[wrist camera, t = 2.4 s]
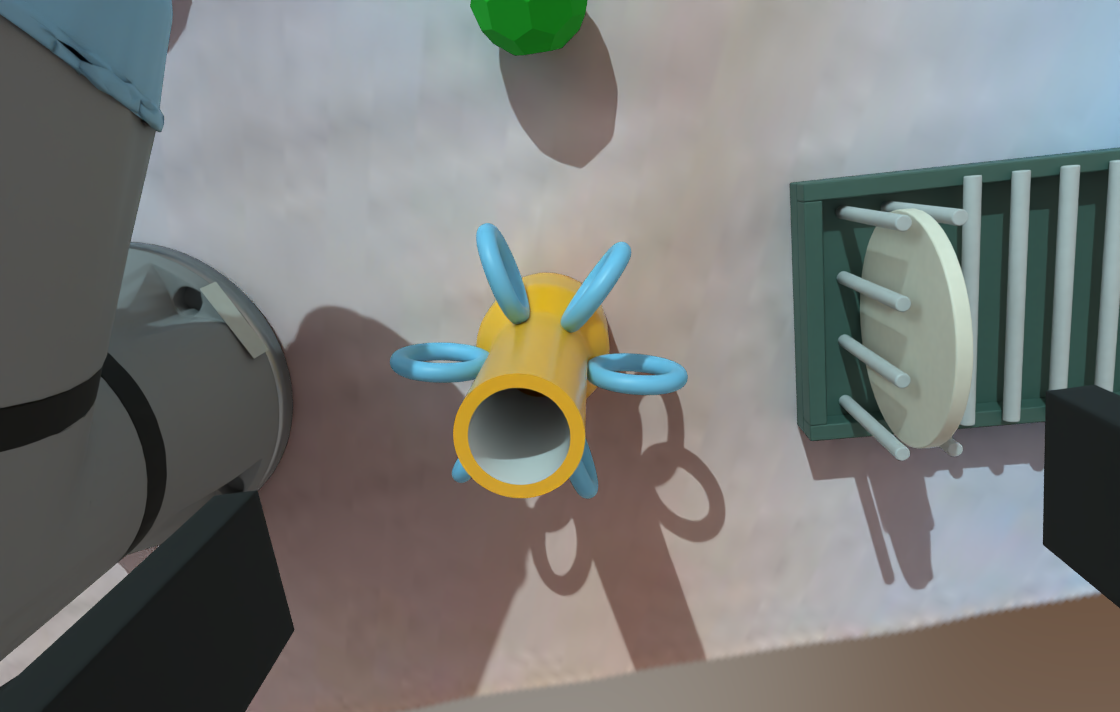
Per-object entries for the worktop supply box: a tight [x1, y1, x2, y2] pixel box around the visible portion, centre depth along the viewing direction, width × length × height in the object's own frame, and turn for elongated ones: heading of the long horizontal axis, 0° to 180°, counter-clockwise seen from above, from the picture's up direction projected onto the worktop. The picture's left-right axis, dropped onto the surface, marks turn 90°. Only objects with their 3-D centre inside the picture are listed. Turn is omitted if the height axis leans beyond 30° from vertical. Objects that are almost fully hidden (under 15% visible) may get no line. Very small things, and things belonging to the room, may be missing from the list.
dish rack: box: [790, 148, 1120, 461], centre depth 30 cm, size 22×12×11 cm, turn 96°
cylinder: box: [390, 223, 688, 499], centre depth 30 cm, size 12×10×15 cm
